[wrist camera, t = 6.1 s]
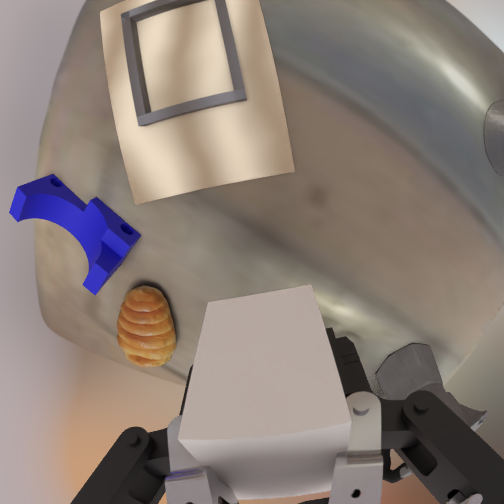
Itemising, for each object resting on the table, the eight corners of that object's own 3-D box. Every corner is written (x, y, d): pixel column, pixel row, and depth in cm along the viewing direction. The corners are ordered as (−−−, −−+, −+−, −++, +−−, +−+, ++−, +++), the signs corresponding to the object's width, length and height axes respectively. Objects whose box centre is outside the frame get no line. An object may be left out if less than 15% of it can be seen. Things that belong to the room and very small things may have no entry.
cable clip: (141, 234, 26) (116, 261, 20) (120, 264, 27) (95, 295, 22) (60, 161, 23) (22, 173, 17) (44, 195, 24) (9, 212, 19)
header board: (249, -28, 15) (249, -41, 13) (293, 170, 23) (297, 174, 21) (104, 15, 16) (92, 7, 14) (139, 202, 24) (128, 209, 22)
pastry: (119, 275, 27) (103, 294, 24) (180, 288, 28) (170, 309, 24) (126, 341, 31) (114, 362, 27) (178, 354, 31) (170, 377, 28)
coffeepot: (425, 320, 30) (493, 430, 14) (449, 346, 32) (504, 436, 16) (339, 392, 35) (365, 504, 19) (374, 407, 37) (402, 500, 21)
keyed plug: (310, 284, 11) (351, 422, 5) (321, 394, 13) (339, 494, 8) (208, 301, 11) (177, 439, 5) (247, 405, 14) (245, 504, 8)
